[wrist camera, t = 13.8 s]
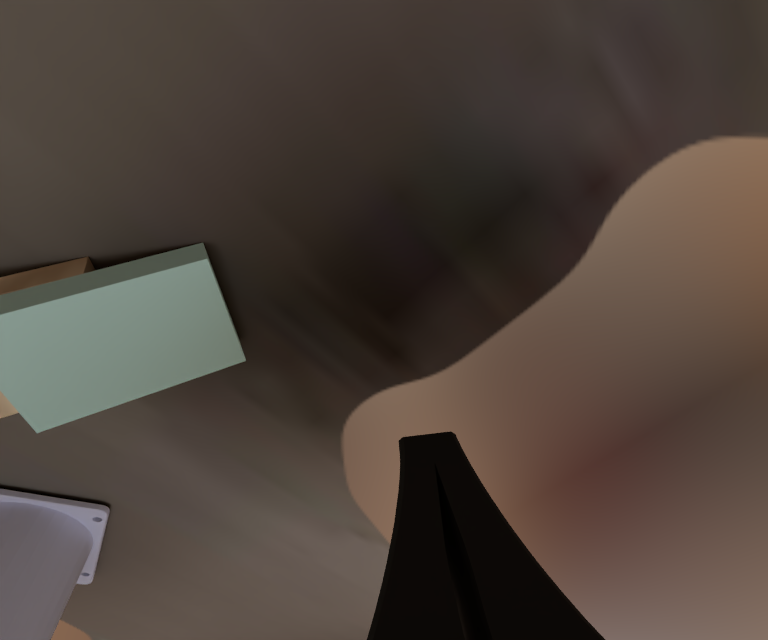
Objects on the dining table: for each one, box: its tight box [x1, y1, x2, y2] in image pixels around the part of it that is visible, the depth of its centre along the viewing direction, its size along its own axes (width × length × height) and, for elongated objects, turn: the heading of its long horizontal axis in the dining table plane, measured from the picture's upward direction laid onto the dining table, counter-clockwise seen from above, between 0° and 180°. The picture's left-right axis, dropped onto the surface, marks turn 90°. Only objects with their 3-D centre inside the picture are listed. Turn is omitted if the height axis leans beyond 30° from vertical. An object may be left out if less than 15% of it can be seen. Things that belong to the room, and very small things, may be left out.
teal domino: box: [0, 243, 246, 433], centre depth 17 cm, size 2×5×8 cm
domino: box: [0, 257, 95, 418], centre depth 17 cm, size 2×5×8 cm
